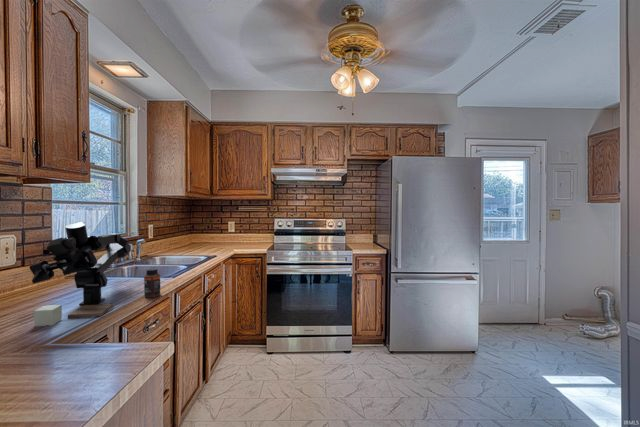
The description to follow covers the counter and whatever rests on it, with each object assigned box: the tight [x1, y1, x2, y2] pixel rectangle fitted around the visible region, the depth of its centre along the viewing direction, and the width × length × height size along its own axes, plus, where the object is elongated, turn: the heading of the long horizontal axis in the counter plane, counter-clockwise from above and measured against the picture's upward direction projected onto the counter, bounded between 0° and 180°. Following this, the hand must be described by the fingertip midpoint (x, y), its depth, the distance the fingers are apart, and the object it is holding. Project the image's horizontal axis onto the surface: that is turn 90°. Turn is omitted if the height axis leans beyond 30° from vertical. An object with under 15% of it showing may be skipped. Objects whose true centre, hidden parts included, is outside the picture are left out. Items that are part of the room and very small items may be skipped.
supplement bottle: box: [143, 267, 161, 299], centre depth 133 cm, size 6×6×11 cm
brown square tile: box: [67, 303, 115, 319], centre depth 113 cm, size 10×10×1 cm
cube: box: [33, 304, 63, 327], centre depth 103 cm, size 5×5×5 cm
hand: (48, 277), depth 98 cm, fingers open, 9 cm apart
